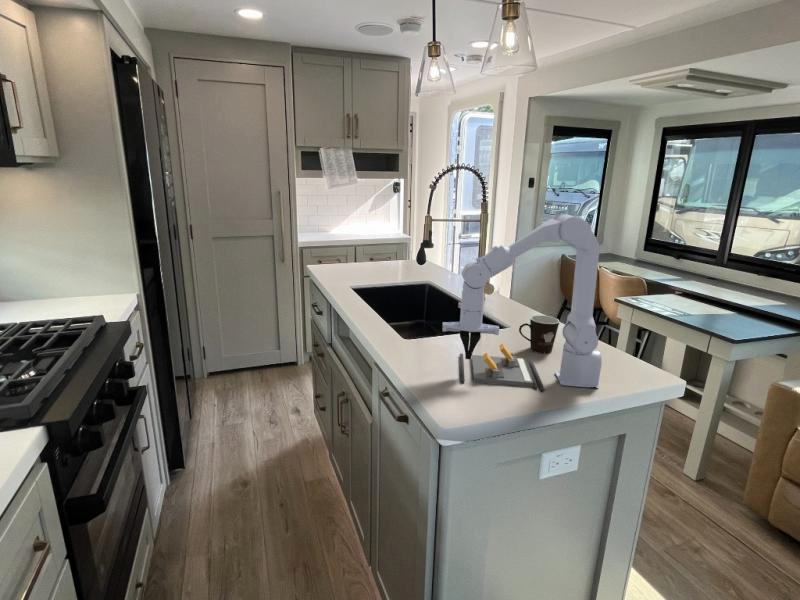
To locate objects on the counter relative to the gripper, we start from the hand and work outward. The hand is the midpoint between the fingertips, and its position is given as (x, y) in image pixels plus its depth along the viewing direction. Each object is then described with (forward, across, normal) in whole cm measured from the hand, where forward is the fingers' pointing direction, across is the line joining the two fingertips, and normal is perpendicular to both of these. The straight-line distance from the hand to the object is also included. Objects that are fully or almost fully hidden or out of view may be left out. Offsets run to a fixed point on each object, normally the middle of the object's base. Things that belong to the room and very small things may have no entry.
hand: (468, 358), depth 122 cm
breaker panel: (+5, -9, -4) cm, 11 cm away
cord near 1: (+5, -19, -3) cm, 20 cm away
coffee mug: (+5, -22, -24) cm, 33 cm away
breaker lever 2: (+2, -12, -8) cm, 15 cm away
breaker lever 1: (+2, -7, 0) cm, 8 cm away
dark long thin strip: (+5, -17, -3) cm, 18 cm away
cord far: (+5, +1, -4) cm, 7 cm away
